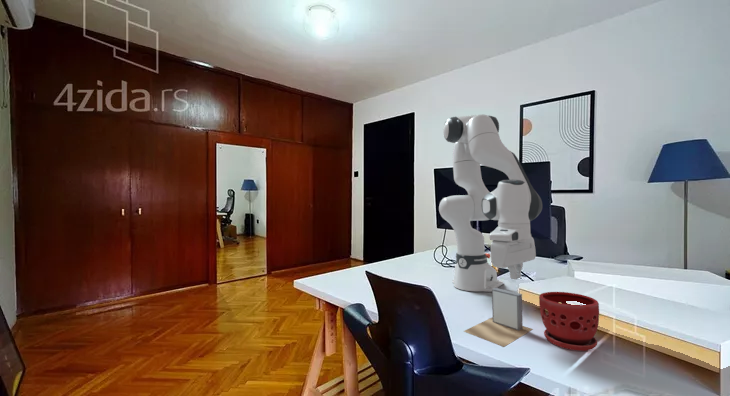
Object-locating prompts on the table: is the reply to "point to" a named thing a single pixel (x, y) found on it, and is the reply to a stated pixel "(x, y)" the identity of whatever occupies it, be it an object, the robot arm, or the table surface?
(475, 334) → the cork mat
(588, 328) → the plant pot
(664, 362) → the table surface
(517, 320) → the tile
